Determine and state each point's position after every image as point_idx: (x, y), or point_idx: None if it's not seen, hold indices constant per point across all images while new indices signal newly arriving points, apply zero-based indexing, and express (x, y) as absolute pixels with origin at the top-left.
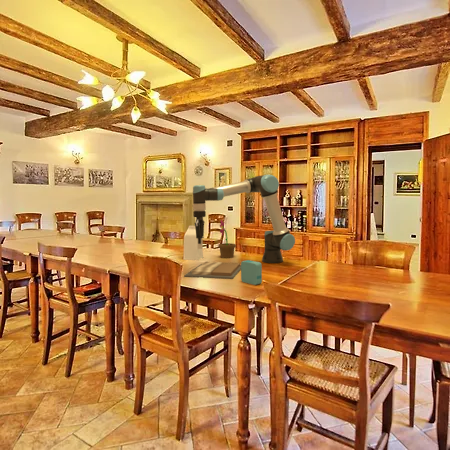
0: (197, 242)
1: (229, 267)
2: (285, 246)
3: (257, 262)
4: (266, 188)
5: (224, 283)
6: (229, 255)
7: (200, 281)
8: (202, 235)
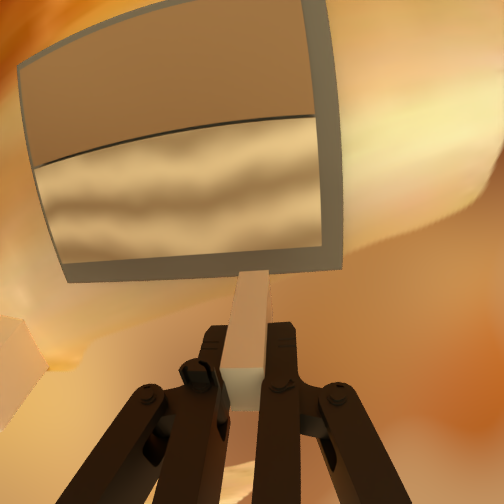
0: None
1: (137, 53)
2: None
3: None
4: None
5: (423, 15)
6: None
7: (420, 146)
8: (194, 406)
